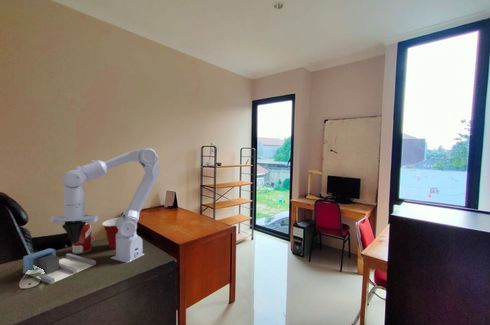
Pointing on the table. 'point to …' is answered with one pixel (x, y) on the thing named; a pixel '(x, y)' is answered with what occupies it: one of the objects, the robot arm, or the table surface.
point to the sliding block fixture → (66, 265)
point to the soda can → (83, 240)
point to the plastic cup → (111, 232)
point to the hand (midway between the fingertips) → (75, 242)
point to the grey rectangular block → (47, 263)
